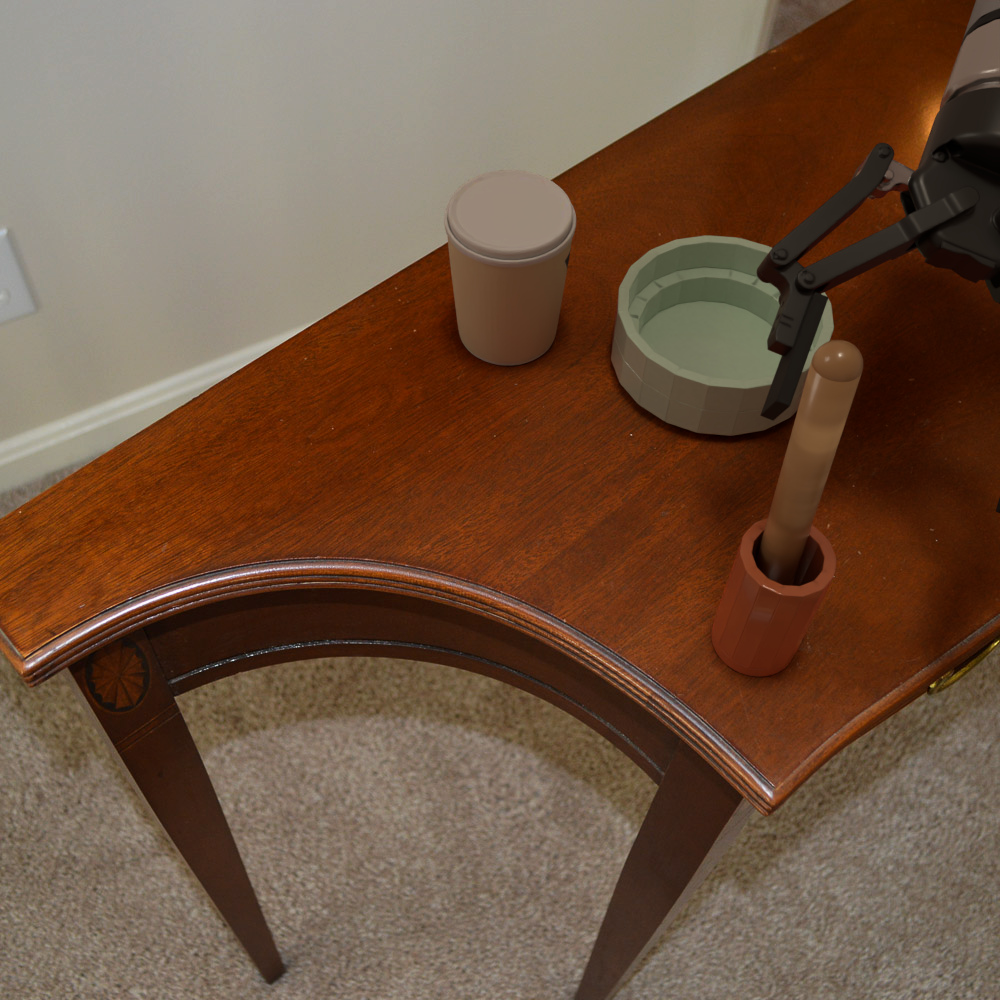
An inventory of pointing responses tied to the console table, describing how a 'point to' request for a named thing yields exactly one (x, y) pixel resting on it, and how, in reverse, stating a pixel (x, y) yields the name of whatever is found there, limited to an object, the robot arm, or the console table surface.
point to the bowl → (703, 335)
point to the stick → (809, 457)
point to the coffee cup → (509, 263)
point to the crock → (769, 606)
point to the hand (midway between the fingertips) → (894, 461)
